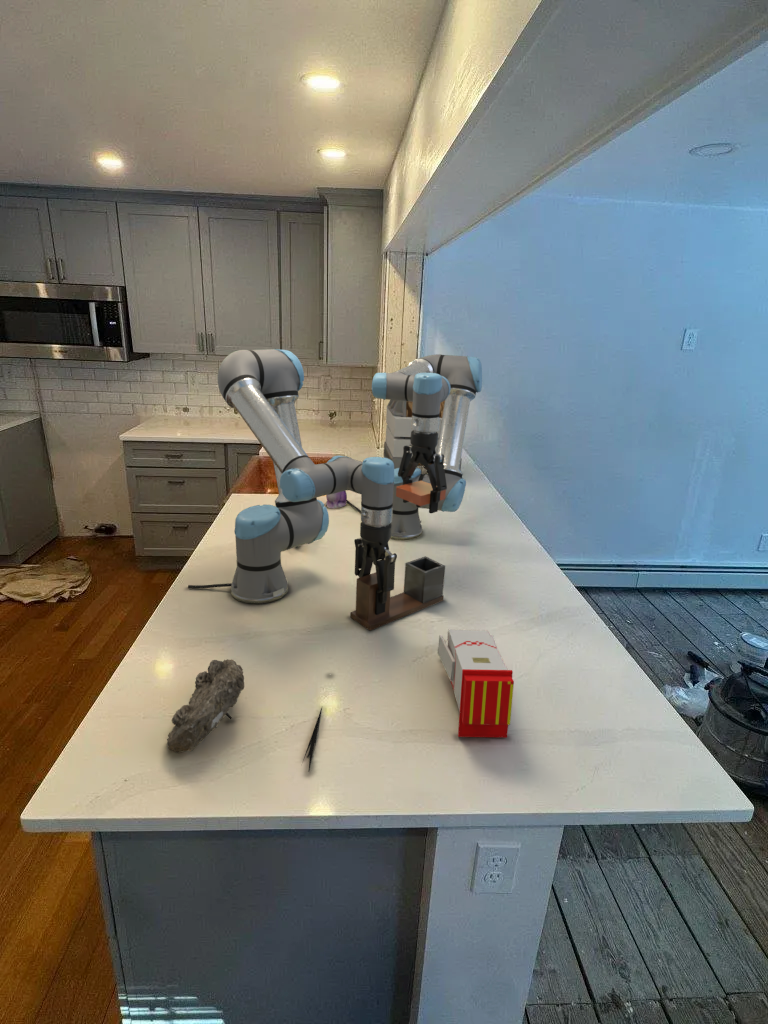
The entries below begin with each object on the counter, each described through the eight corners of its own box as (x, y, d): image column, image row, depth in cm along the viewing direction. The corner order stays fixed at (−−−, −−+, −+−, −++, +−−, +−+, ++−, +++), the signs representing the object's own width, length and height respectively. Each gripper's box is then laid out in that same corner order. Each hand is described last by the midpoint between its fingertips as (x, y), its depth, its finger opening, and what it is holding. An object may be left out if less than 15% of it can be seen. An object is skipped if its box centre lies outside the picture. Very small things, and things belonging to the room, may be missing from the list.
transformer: (382, 463, 289) (386, 382, 275) (445, 464, 293) (451, 384, 279) (390, 482, 257) (394, 392, 243) (460, 483, 261) (468, 394, 247)
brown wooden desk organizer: (350, 617, 145) (351, 576, 141) (422, 589, 161) (425, 552, 157) (370, 630, 139) (371, 589, 135) (443, 600, 155) (446, 562, 152)
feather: (331, 679, 122) (336, 673, 122) (307, 777, 96) (313, 769, 95) (324, 675, 122) (329, 669, 121) (298, 772, 95) (304, 764, 95)
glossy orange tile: (395, 500, 163) (396, 486, 162) (420, 493, 170) (421, 480, 168) (420, 510, 157) (421, 495, 155) (444, 503, 163) (445, 489, 161)
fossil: (192, 660, 117) (244, 628, 112) (224, 691, 120) (276, 661, 115) (142, 746, 98) (202, 712, 93) (182, 779, 101) (242, 748, 96)
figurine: (329, 510, 219) (330, 473, 214) (320, 502, 228) (320, 466, 222) (352, 507, 223) (353, 470, 218) (341, 499, 232) (342, 464, 227)
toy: (488, 613, 130) (523, 677, 101) (484, 667, 133) (517, 744, 104) (435, 612, 130) (455, 676, 101) (432, 666, 133) (451, 743, 103)
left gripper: (341, 514, 140) (339, 598, 147) (389, 537, 127) (384, 628, 135) (364, 508, 144) (362, 590, 152) (413, 530, 132) (407, 618, 139)
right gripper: (387, 425, 161) (384, 498, 169) (445, 441, 146) (439, 521, 154) (406, 422, 166) (402, 493, 174) (464, 437, 150) (457, 515, 158)
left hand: (372, 607), depth 143 cm, fingers closed on brown wooden desk organizer, 5 cm apart
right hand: (419, 506), depth 164 cm, fingers closed on glossy orange tile, 10 cm apart
